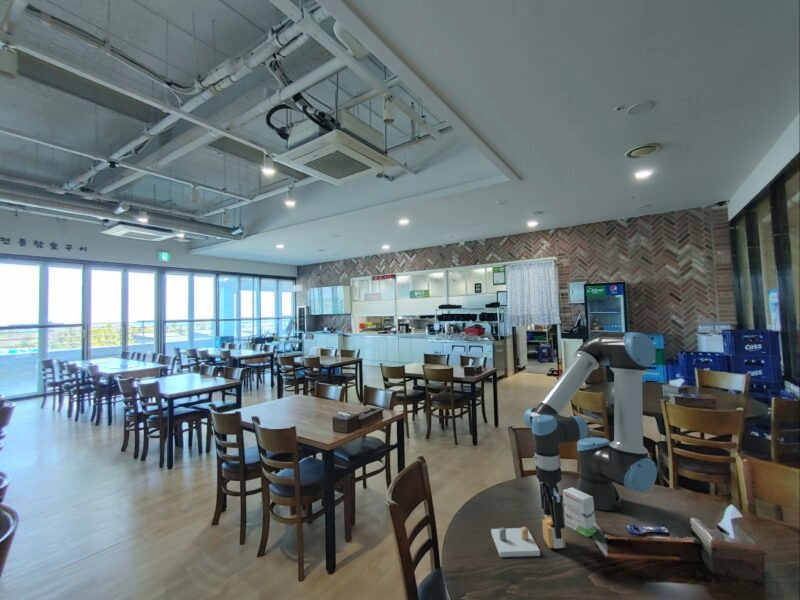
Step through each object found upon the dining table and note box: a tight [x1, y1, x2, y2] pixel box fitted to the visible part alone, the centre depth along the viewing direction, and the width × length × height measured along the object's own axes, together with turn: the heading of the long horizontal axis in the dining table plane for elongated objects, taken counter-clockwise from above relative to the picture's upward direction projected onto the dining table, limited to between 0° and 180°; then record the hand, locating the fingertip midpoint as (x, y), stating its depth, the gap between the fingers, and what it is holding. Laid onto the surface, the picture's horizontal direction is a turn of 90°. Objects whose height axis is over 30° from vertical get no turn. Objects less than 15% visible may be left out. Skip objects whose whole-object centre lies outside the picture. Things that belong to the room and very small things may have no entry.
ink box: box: [562, 487, 596, 538], centre depth 120 cm, size 9×5×12 cm, turn 26°
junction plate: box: [490, 526, 541, 558], centre depth 114 cm, size 12×12×5 cm
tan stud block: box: [541, 517, 567, 549], centre depth 113 cm, size 5×5×7 cm
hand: (554, 541), depth 113 cm, fingers closed on tan stud block, 5 cm apart
